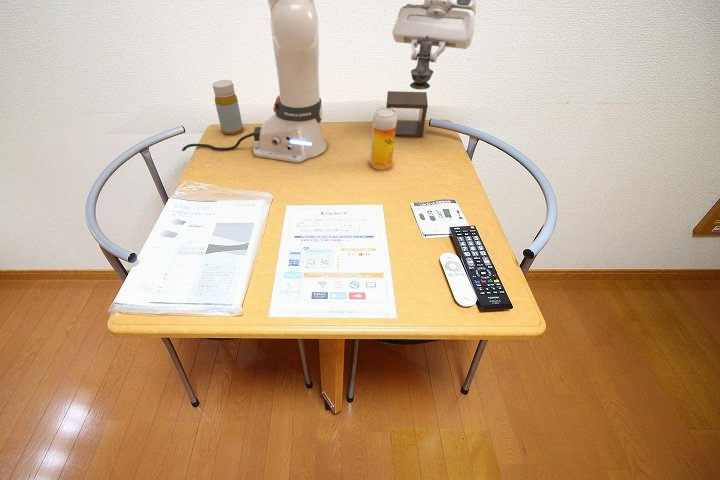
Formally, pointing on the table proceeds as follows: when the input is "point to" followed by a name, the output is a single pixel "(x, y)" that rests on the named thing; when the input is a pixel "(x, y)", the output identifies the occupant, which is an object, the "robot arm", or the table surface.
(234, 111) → the bottle
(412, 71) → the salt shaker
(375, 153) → the beer can
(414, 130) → the shelf
